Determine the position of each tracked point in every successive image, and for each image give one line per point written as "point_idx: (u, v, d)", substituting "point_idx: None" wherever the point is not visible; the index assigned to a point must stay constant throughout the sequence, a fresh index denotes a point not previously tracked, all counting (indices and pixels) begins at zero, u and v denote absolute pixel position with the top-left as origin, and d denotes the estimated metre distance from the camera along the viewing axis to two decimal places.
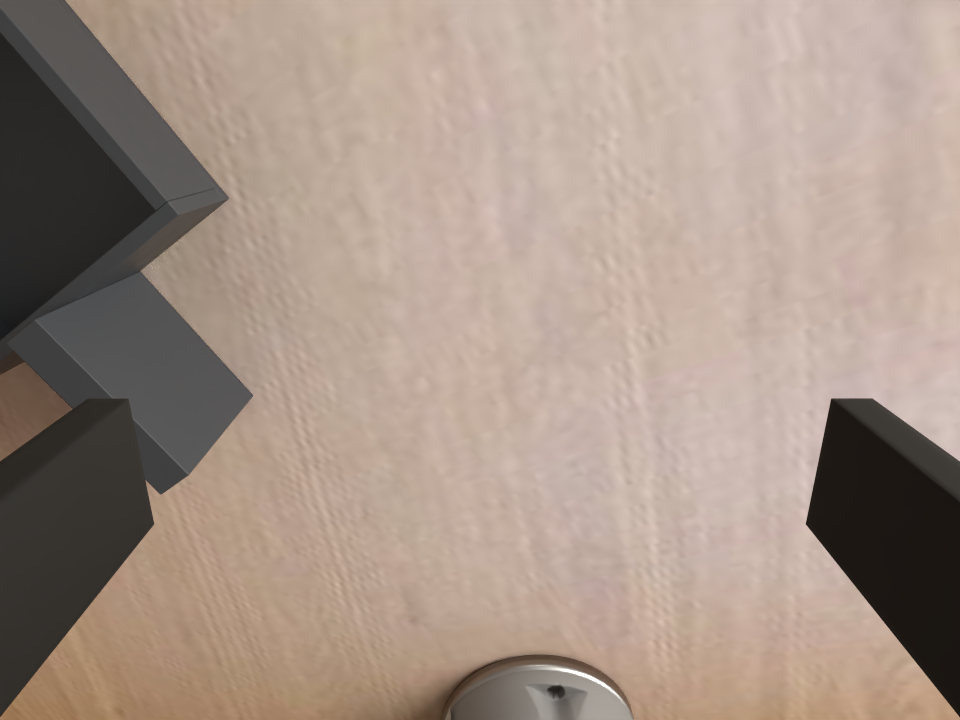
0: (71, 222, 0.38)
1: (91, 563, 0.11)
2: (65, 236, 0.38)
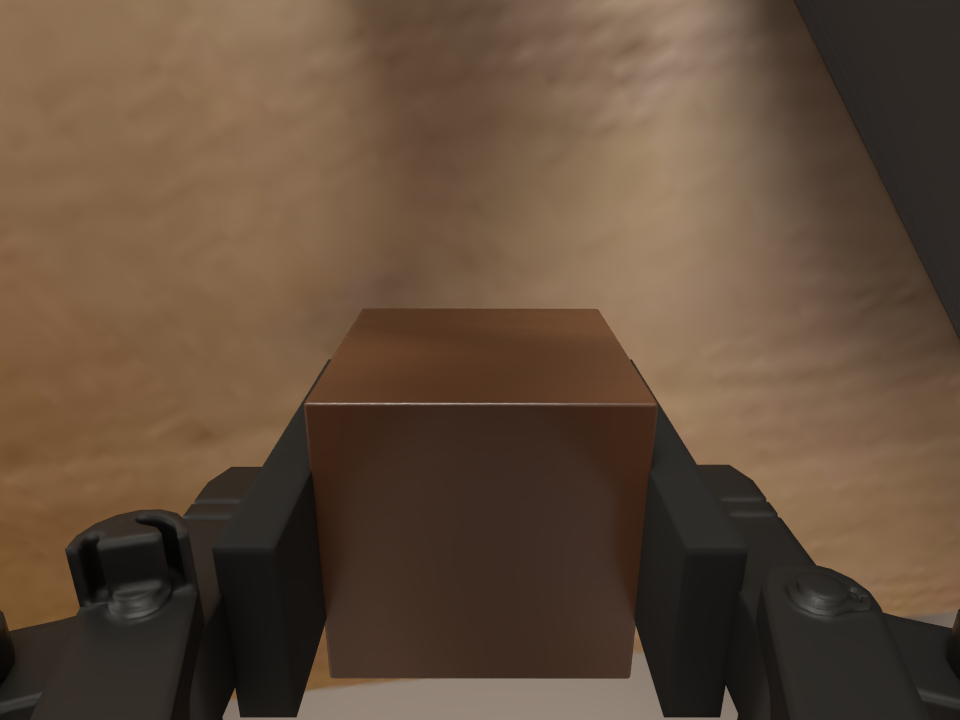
0: None
1: None
2: None
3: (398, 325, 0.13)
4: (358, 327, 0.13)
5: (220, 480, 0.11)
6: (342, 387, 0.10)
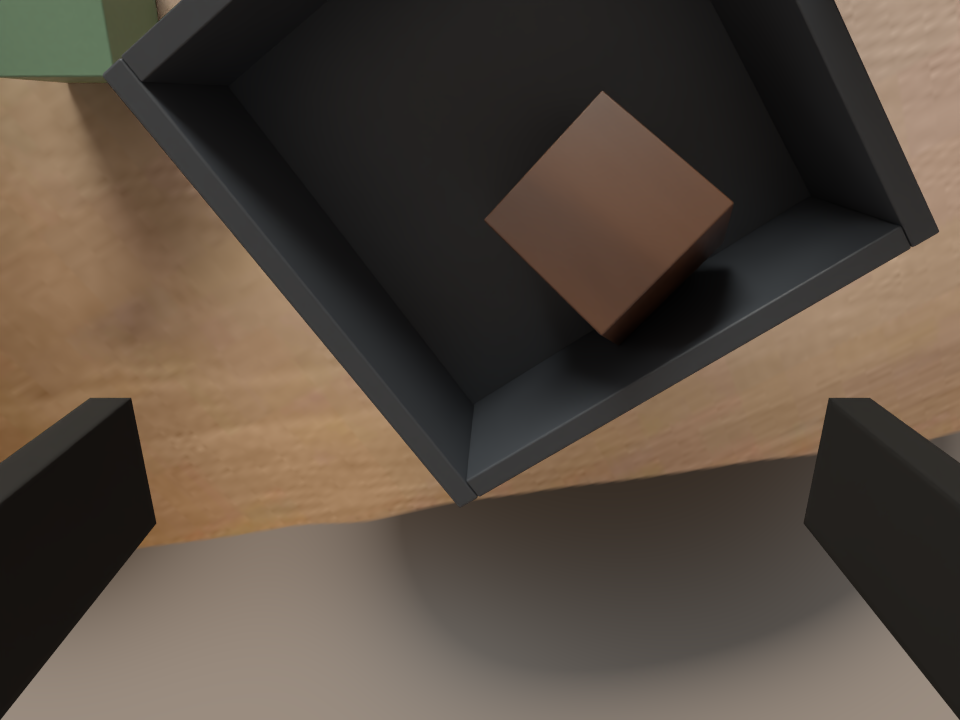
0: (618, 61, 0.23)
1: (94, 562, 0.11)
2: (641, 78, 0.23)
3: None
4: (517, 185, 0.20)
5: None
6: None
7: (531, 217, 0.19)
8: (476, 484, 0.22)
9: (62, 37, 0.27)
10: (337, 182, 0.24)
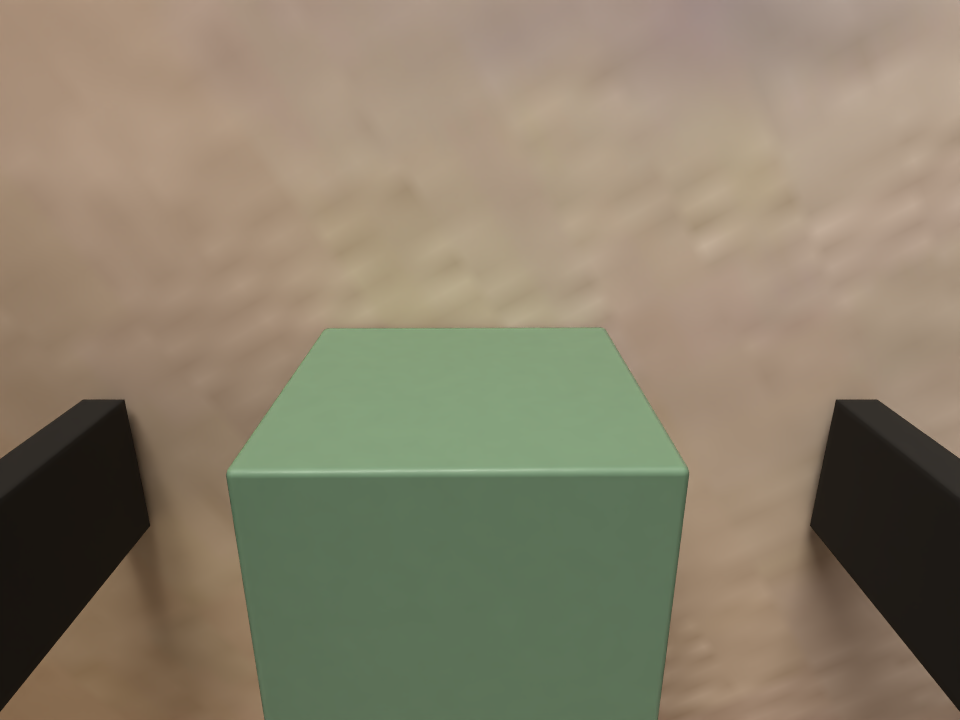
0: None
1: (86, 565, 0.11)
2: None
3: None
4: None
5: None
6: None
7: None
8: None
9: (512, 716, 0.08)
10: None
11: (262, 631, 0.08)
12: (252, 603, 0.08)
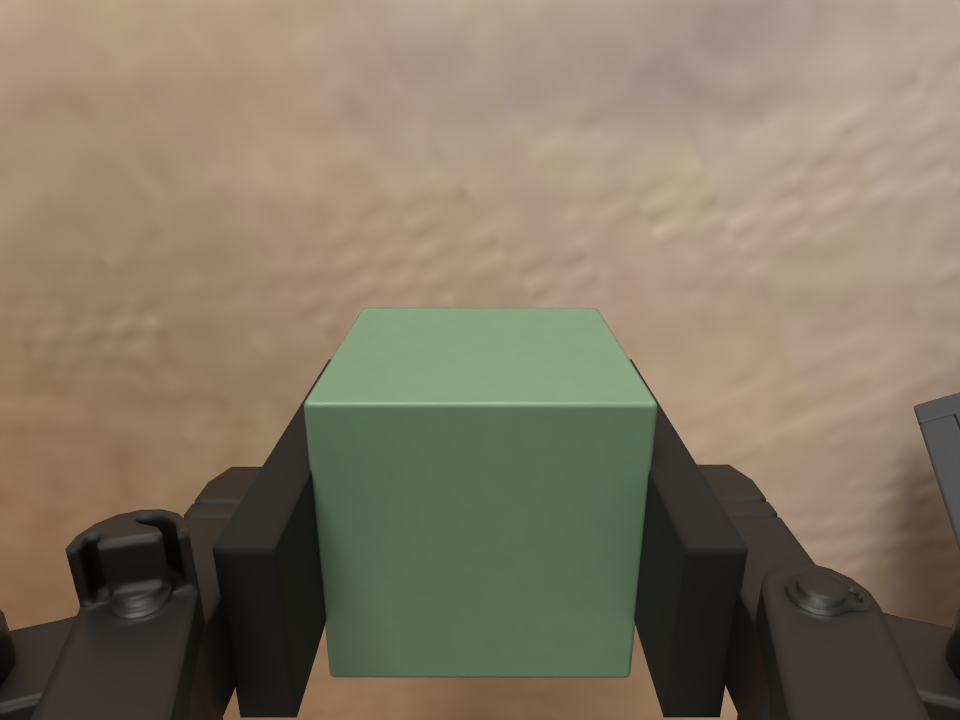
0: None
1: None
2: None
3: None
4: None
5: (221, 480, 0.11)
6: None
7: None
8: None
9: (520, 607, 0.10)
10: None
11: (326, 533, 0.10)
12: (319, 510, 0.10)
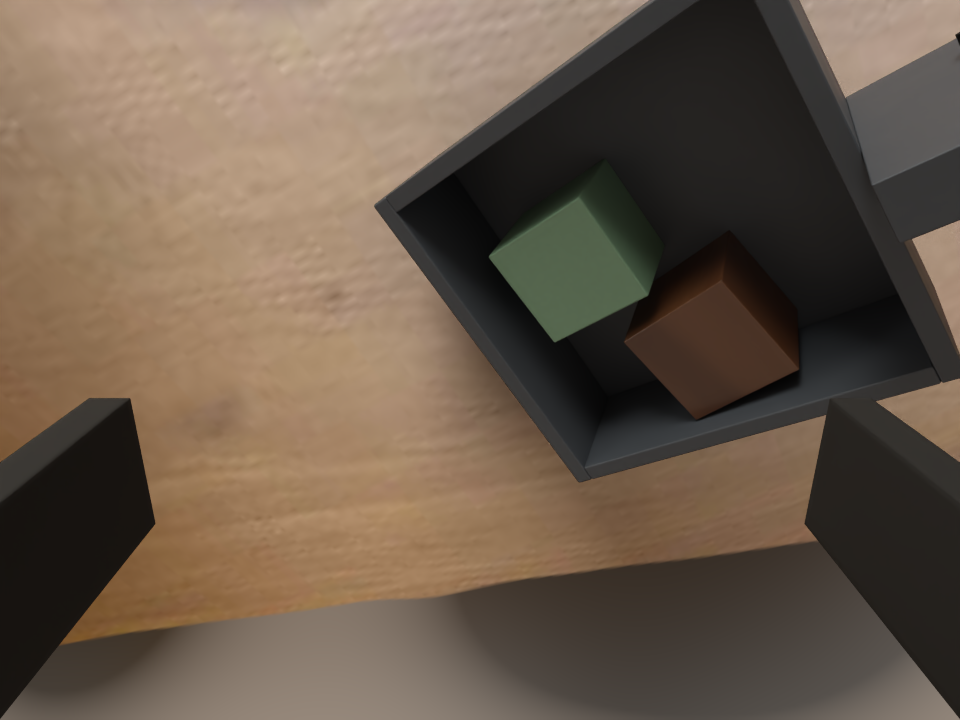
0: (747, 173, 0.28)
1: (93, 562, 0.11)
2: (765, 187, 0.28)
3: (649, 317, 0.28)
4: (649, 323, 0.28)
5: None
6: (710, 282, 0.26)
7: (658, 348, 0.28)
8: (591, 471, 0.32)
9: (641, 236, 0.29)
10: None
11: (611, 239, 0.26)
12: (604, 231, 0.26)
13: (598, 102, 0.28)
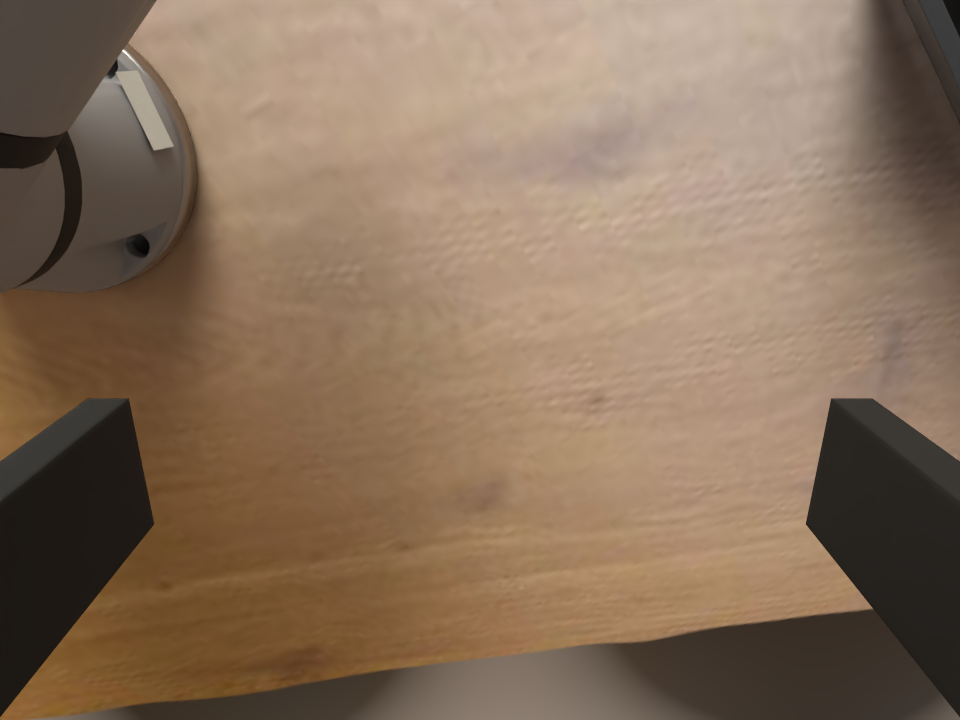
0: None
1: (91, 563, 0.11)
2: None
3: None
4: None
5: None
6: None
7: None
8: None
9: None
10: (957, 6, 0.34)
11: None
12: None
13: None
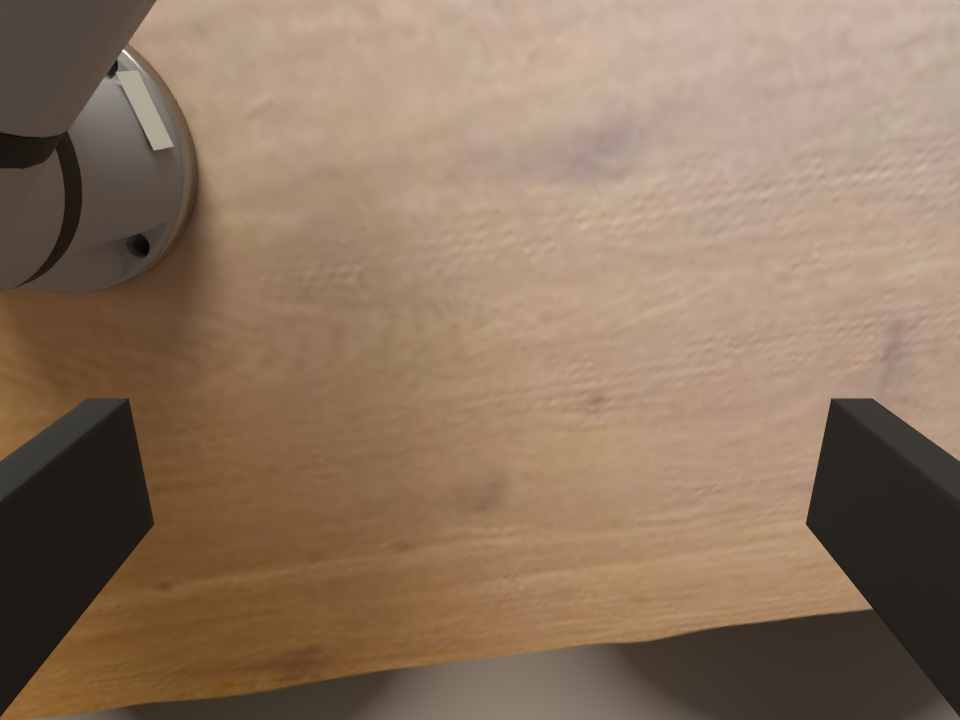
0: None
1: (91, 563, 0.11)
2: None
3: None
4: None
5: None
6: None
7: None
8: None
9: None
10: None
11: None
12: None
13: None
